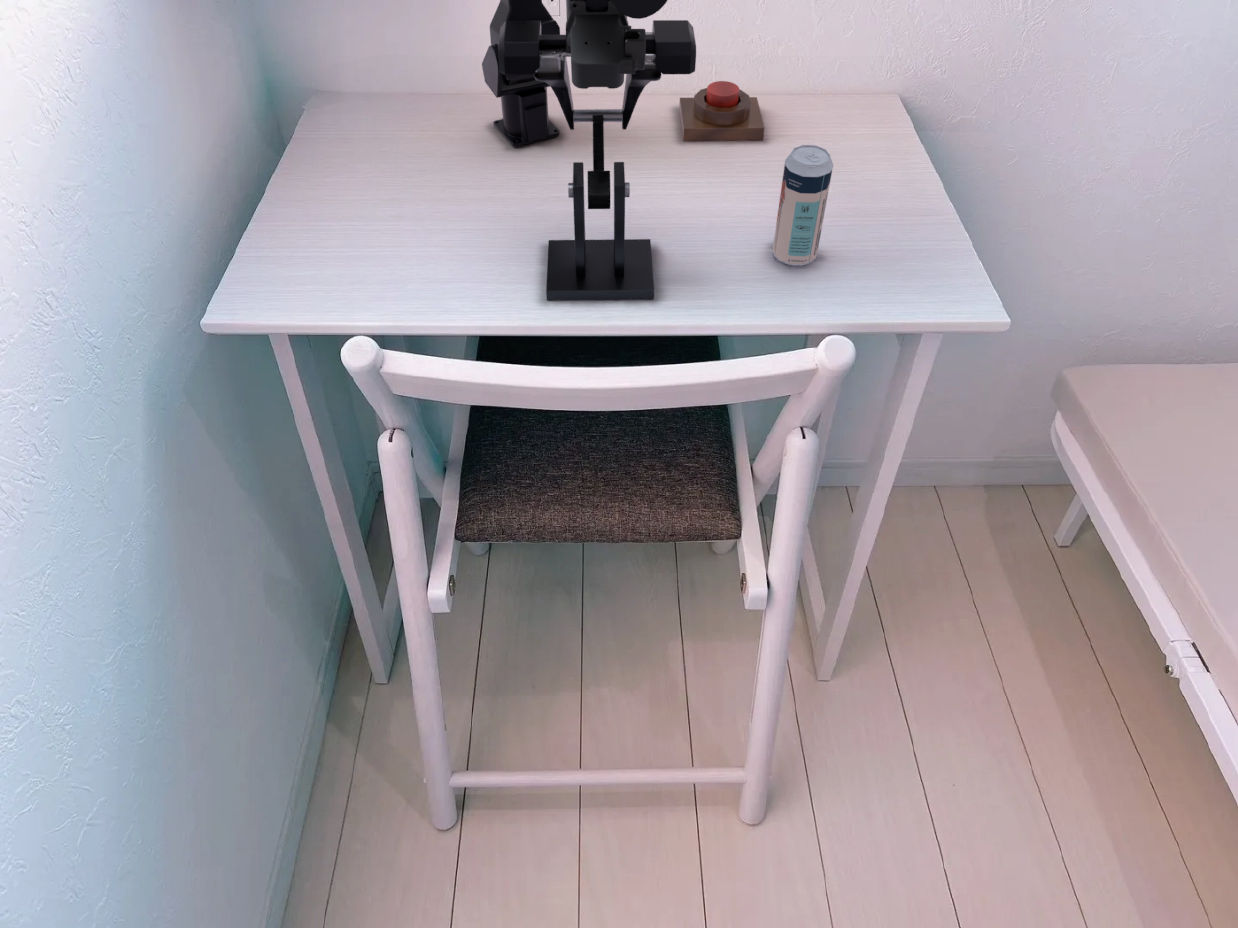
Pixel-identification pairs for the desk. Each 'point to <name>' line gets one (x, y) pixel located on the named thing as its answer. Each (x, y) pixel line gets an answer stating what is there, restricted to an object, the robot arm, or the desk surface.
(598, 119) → the lever
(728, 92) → the button
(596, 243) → the bracket
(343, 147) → the desk surface
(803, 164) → the beer can
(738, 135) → the button block
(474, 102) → the desk surface
